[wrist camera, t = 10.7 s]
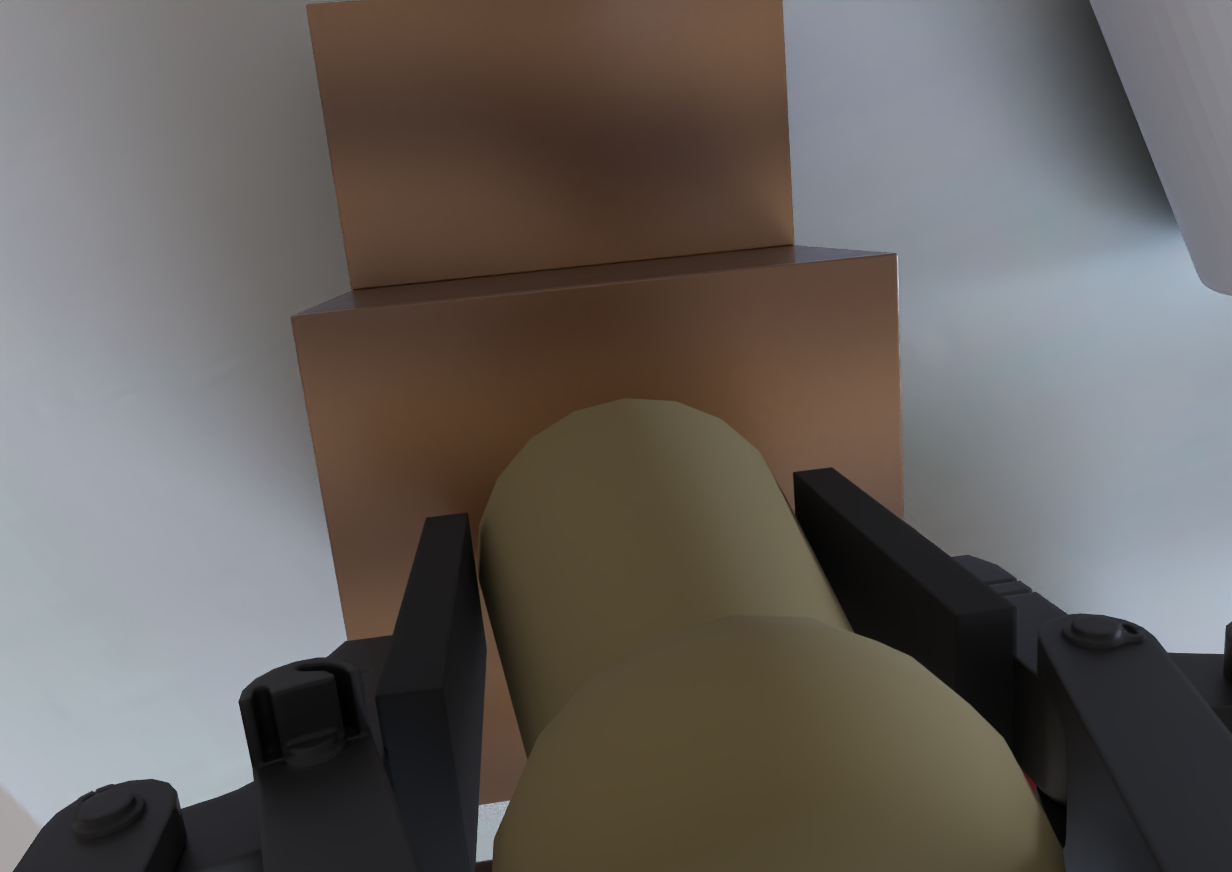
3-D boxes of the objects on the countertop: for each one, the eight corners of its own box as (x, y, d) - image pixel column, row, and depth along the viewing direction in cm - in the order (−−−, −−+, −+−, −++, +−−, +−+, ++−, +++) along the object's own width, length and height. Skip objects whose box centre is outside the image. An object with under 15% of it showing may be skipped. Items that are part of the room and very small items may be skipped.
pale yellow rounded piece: (828, 434, 17) (1331, 768, 7) (745, 721, 19) (1062, 1389, 8) (513, 365, 16) (520, 625, 6) (447, 672, 18) (350, 1358, 7)
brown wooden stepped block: (335, 36, 27) (132, -182, 12) (743, 3, 28) (991, -232, 13) (425, 616, 31) (350, 955, 17) (776, 570, 32) (991, 851, 18)
